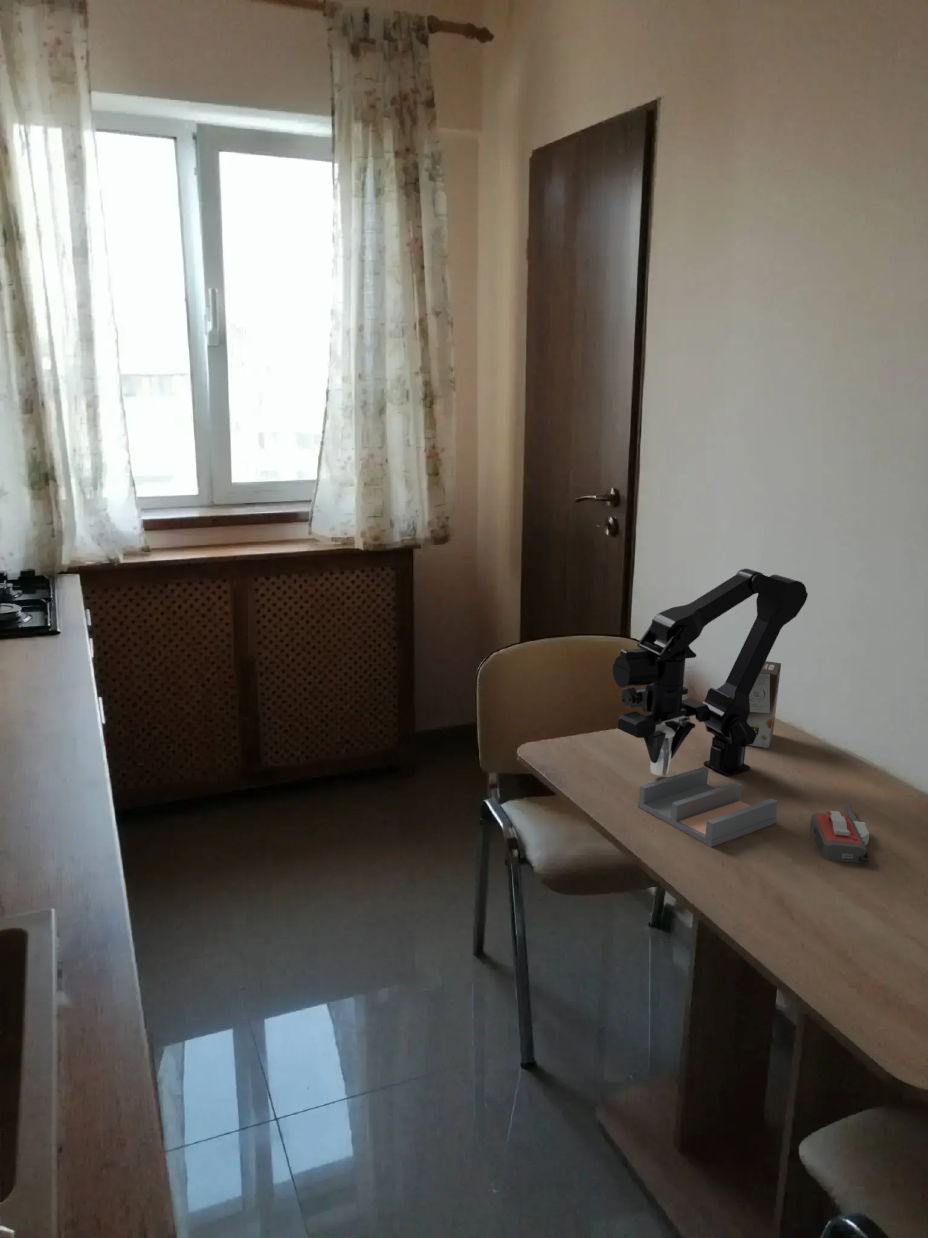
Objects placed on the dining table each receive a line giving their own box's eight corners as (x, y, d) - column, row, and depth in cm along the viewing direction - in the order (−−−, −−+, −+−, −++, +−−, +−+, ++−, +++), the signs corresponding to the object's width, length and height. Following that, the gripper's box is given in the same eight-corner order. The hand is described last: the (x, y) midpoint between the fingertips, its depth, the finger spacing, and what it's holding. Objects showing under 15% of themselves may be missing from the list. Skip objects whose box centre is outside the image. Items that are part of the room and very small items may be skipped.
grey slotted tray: (700, 786, 171) (702, 766, 170) (776, 823, 158) (778, 801, 156) (637, 806, 163) (639, 785, 162) (711, 847, 149) (713, 824, 148)
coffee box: (769, 749, 189) (777, 674, 185) (737, 744, 192) (744, 670, 188) (773, 734, 198) (781, 662, 193) (742, 729, 200) (750, 658, 196)
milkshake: (676, 778, 171) (680, 728, 169) (646, 775, 172) (651, 725, 170) (675, 769, 176) (680, 719, 173) (647, 766, 177) (651, 717, 174)
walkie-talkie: (881, 871, 144) (852, 813, 163) (885, 845, 142) (855, 790, 161) (822, 865, 145) (800, 808, 164) (826, 839, 144) (803, 785, 163)
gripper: (671, 662, 181) (666, 736, 185) (600, 677, 171) (595, 755, 175) (715, 677, 172) (708, 755, 176) (642, 694, 162) (636, 776, 166)
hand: (661, 760), depth 173 cm, fingers closed on milkshake, 4 cm apart
